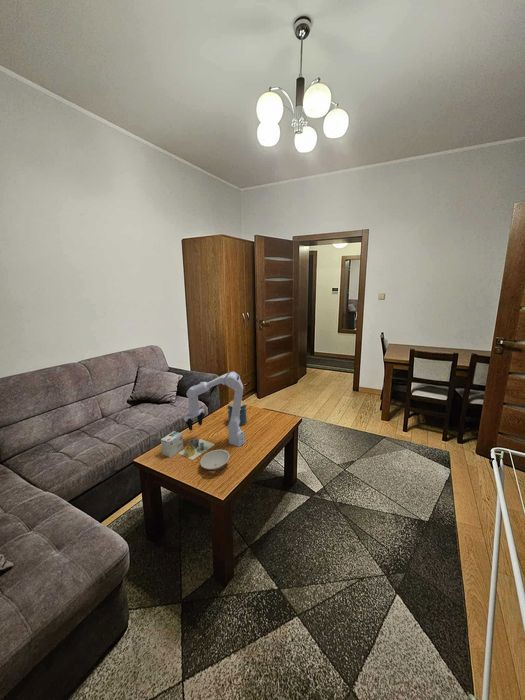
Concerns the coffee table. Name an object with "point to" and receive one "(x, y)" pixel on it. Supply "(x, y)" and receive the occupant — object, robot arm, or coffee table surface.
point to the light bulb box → (172, 443)
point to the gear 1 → (195, 444)
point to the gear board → (199, 448)
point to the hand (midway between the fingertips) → (195, 427)
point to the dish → (214, 459)
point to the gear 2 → (189, 450)
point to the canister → (242, 412)
